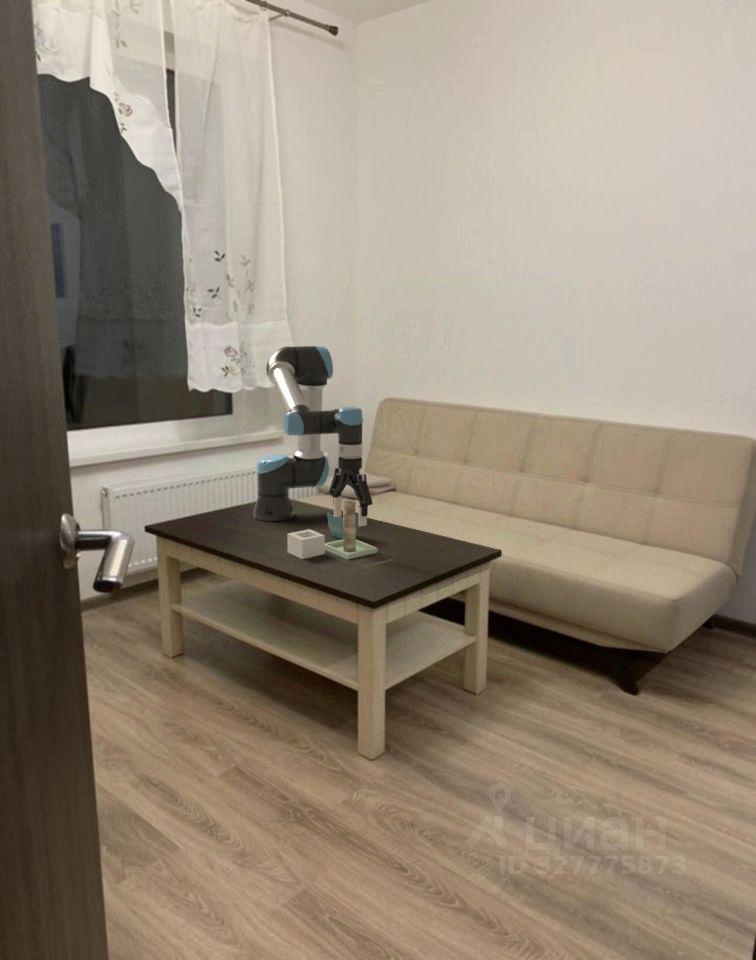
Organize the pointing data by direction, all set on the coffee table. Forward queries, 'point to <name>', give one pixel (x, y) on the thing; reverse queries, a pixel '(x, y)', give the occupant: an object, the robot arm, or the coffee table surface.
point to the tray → (361, 550)
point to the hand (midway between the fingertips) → (349, 521)
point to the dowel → (349, 526)
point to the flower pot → (339, 524)
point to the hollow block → (306, 543)
